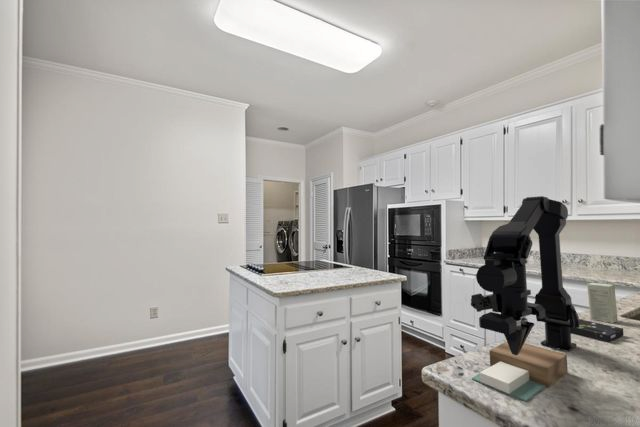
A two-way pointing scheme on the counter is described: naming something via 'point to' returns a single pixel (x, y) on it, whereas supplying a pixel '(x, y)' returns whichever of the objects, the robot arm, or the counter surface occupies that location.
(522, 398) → the mat
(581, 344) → the counter surface
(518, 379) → the cream rectangular block
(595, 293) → the skincare box
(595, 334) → the disk drive
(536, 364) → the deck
